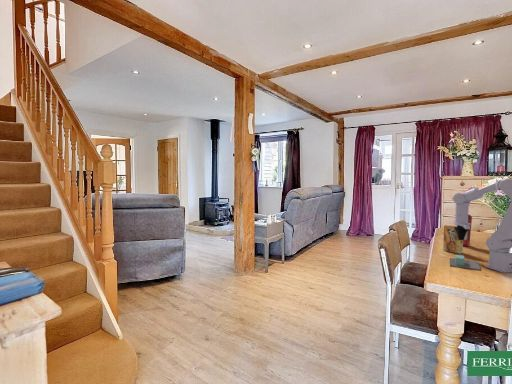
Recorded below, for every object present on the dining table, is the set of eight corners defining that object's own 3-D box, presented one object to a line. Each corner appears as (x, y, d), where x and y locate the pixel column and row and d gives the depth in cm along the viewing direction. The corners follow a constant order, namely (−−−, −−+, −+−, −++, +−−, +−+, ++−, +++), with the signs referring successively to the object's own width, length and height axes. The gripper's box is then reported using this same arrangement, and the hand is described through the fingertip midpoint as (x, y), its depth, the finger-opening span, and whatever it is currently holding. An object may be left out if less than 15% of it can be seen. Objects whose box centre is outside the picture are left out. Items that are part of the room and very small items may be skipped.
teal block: (463, 262, 146) (464, 265, 140) (455, 261, 148) (455, 264, 142) (463, 255, 145) (464, 258, 140) (455, 254, 147) (455, 257, 142)
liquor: (454, 245, 182) (455, 201, 180) (461, 243, 185) (462, 201, 183) (466, 247, 175) (468, 202, 174) (473, 246, 178) (475, 202, 177)
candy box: (463, 252, 165) (463, 226, 164) (459, 253, 163) (460, 227, 162) (446, 249, 172) (446, 224, 171) (442, 250, 170) (443, 225, 169)
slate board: (480, 270, 135) (480, 269, 135) (449, 266, 142) (449, 264, 142) (477, 262, 147) (477, 261, 147) (449, 258, 154) (449, 257, 153)
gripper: (477, 217, 146) (476, 243, 147) (463, 213, 160) (463, 237, 161) (461, 217, 148) (460, 242, 149) (449, 213, 162) (449, 236, 163)
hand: (460, 239), depth 155 cm, fingers closed
